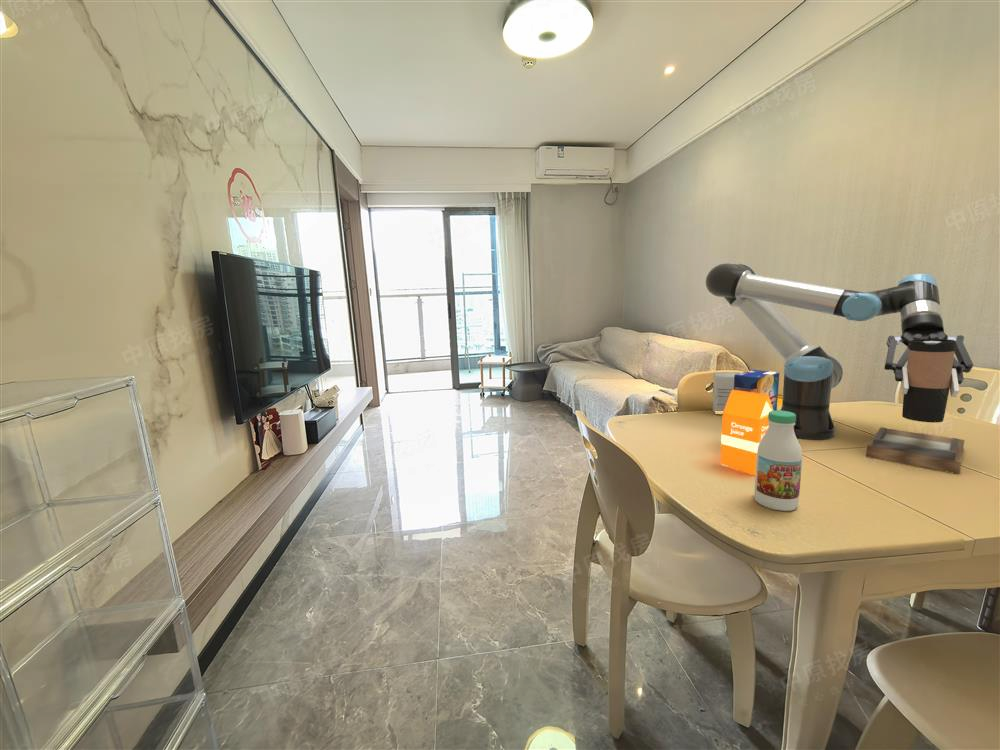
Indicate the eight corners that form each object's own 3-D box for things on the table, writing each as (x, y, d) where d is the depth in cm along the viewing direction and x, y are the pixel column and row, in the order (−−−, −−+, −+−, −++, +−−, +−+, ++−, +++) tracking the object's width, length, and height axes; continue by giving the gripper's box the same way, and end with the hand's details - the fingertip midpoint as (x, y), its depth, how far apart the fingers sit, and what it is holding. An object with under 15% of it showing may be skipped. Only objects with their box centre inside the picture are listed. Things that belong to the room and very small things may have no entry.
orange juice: (755, 476, 95) (760, 397, 91) (719, 465, 102) (723, 391, 99) (771, 467, 99) (776, 392, 95) (735, 457, 106) (739, 387, 103)
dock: (865, 456, 102) (868, 438, 101) (880, 434, 116) (882, 418, 115) (959, 474, 90) (962, 453, 89) (963, 447, 104) (966, 429, 103)
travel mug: (923, 413, 101) (934, 338, 98) (954, 422, 94) (966, 340, 90) (892, 414, 102) (901, 339, 99) (920, 423, 95) (930, 342, 91)
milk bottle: (745, 495, 86) (750, 409, 82) (778, 492, 86) (784, 406, 83) (772, 513, 78) (779, 419, 75) (808, 510, 79) (816, 416, 75)
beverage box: (774, 446, 112) (779, 372, 108) (756, 455, 107) (761, 377, 103) (749, 440, 118) (753, 369, 114) (730, 448, 112) (734, 374, 108)
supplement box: (711, 408, 153) (713, 371, 150) (738, 410, 149) (740, 372, 146) (714, 415, 144) (715, 376, 142) (742, 416, 141) (744, 376, 138)
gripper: (974, 330, 100) (989, 404, 90) (866, 331, 113) (869, 396, 103) (985, 310, 95) (1002, 387, 85) (871, 313, 108) (874, 381, 98)
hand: (929, 392), depth 94 cm, fingers closed on travel mug, 8 cm apart
